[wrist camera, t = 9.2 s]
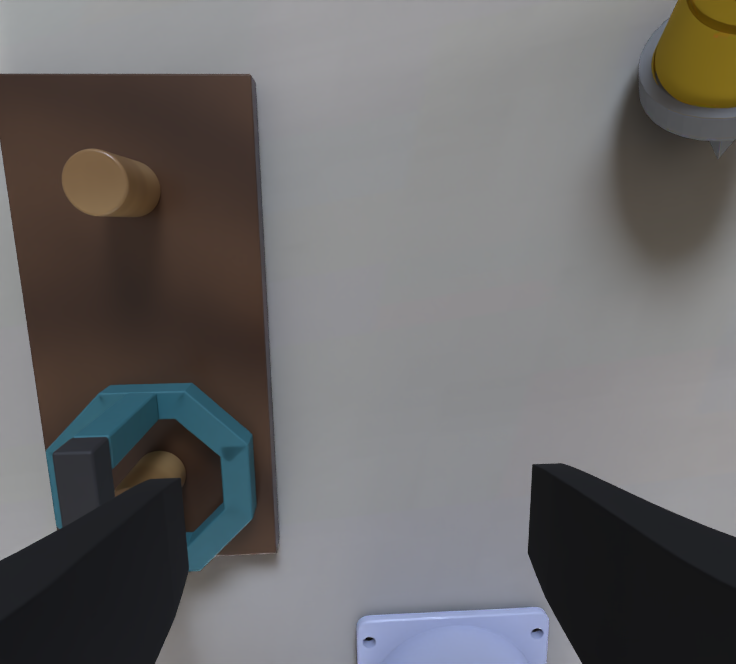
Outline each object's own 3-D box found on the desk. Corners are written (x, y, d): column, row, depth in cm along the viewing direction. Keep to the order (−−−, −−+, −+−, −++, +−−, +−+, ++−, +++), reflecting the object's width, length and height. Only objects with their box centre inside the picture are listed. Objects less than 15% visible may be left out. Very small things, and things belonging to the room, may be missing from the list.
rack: (279, 538, 21) (266, 606, 17) (74, 547, 21) (16, 618, 17) (256, 82, 18) (233, 43, 14) (8, 81, 17) (-82, 42, 14)
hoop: (259, 552, 20) (229, 679, 14) (76, 560, 20) (-28, 693, 14) (250, 380, 19) (211, 447, 13) (52, 385, 18) (-74, 456, 13)
